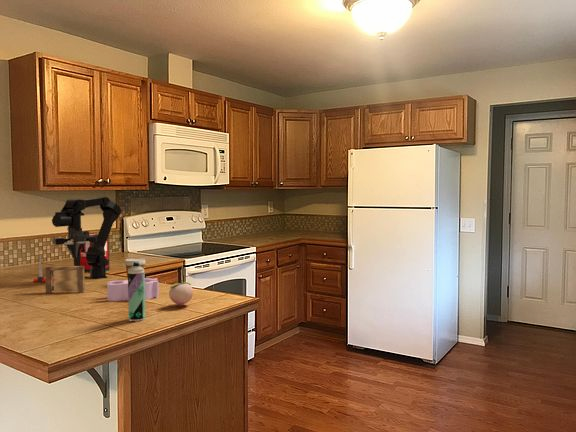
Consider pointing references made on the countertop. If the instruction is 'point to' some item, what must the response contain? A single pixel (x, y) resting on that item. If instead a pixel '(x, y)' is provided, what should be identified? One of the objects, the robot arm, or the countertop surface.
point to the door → (65, 280)
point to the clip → (120, 289)
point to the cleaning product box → (82, 255)
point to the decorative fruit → (181, 293)
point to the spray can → (136, 292)
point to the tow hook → (40, 273)
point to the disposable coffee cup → (130, 263)
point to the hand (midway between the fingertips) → (75, 257)
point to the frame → (49, 269)
